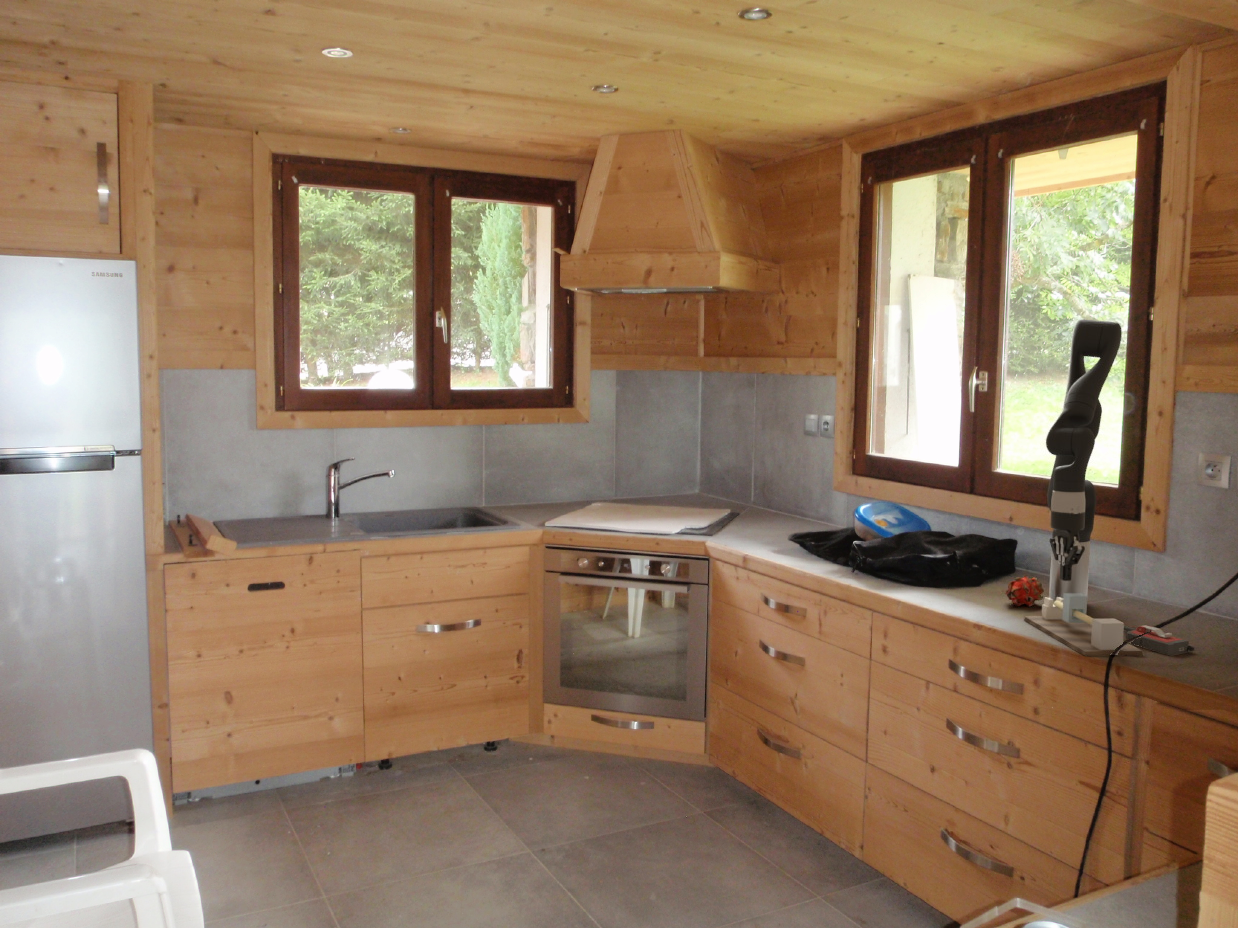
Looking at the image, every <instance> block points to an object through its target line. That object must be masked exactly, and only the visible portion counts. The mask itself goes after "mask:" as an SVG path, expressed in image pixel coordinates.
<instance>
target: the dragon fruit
mask: <svg viewBox="0 0 1238 928" xmlns="http://www.w3.org/2000/svg"><path fill="white" fill-rule="evenodd" d="M1044 592H1045V590H1044V588H1043V585H1042V582H1041V581H1040V580H1039V581H1038V578H1037V577H1032V578H1030V577H1028V575H1026V574H1024V575H1023V577H1019V576H1018V577H1016V578H1015V579H1014V580H1011V581H1010V582H1009V583H1008V585H1007V589H1006V591H1005V595H1006V596H1007V598H1008V600H1009V601H1011V603H1010V605H1011V606H1016V607H1020V606H1022V605H1026V606H1027V607H1029V608H1031V606H1033V605H1035V602H1036V601H1041V600H1044V599H1043V598H1044V596H1043V595H1041V594H1043V593H1044Z"/></svg>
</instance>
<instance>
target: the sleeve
mask: <svg viewBox="0 0 1238 928" xmlns="http://www.w3.org/2000/svg"><path fill="white" fill-rule="evenodd" d="M1087 606H1088V595H1087V596H1085V595H1083V594H1081V593H1064V596H1063V616H1062V620H1064V621H1066V622H1067V623H1086V622H1084V621H1082V620H1080V619H1078V618H1076V617H1075V616H1073V615H1072V609H1076V610H1078V611H1080V612H1082V613H1084V614H1086V615H1087V608H1088V607H1087Z"/></svg>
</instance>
